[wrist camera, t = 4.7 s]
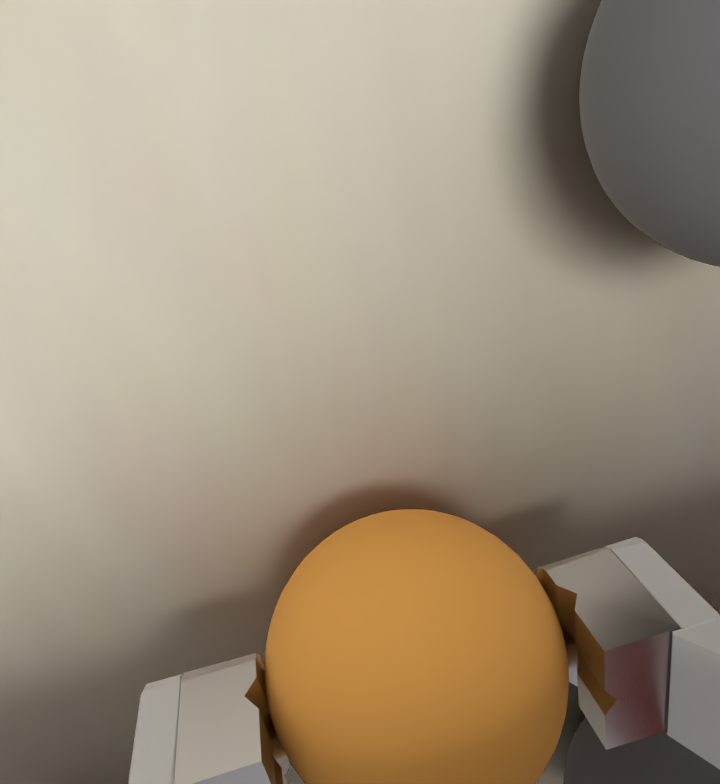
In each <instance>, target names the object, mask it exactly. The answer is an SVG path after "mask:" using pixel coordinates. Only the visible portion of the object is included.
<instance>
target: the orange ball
mask: <svg viewBox="0 0 720 784" xmlns="http://www.w3.org/2000/svg"><path fill="white" fill-rule="evenodd" d="M265 687H266V693H267V700H268V706H269V711H270V715H271V719H272V722H273V725H274V728H275V731H276V734H277V737H278V739H279V741H280V743H281V745H282V748H283V750H284V751H285V753H286V755H287V757H288V759H289V761H290V763H291V765H292V766H293V768H294V769H295V770H296V772H297V773H298V774H299V776H300V777H301V778H302V780H303V781H304V782H305V783H306V784H536V782H537V781H538V780H539V778H540V777H541V775H542V774H543V772H544V770H545V768H546V766H547V765H548V763H549V761H550V759H551V757H552V755H553V753H554V751H555V749H556V747H557V744H558V741H559V738H560V735H561V732H562V728H563V725H564V721H565V716H566V711H567V704H568V695H569V668H568V658H567V651H566V646H565V641H564V636H563V632H562V629H561V626H560V623H559V620H558V618H557V615H556V612H555V610H554V607H553V605H552V603H551V601H550V599H549V597H548V596H547V594H546V592H545V590H544V589H543V587H542V585H541V583H540V582H539V580H538V578H537V577H536V576H535V574H534V573H533V572H532V571H531V570H530V568H529V567H528V566H527V565H526V564H525V562H524V561H523V560H522V559H521V558H520V556H519V555H518V554H517V553H515V552H514V551H513V550H512V549H511V548H510V547H508V546H507V545H506V544H505V543H504V542H502V541H501V540H500V539H499V538H498V537H496V536H495V535H493V534H491V533H490V532H488V531H486V530H485V529H483V528H481V527H479V526H478V525H476V524H474V523H472V522H470V521H467V520H465V519H462V518H460V517H456V516H453V515H450V514H446V513H442V512H438V511H432V510H423V509H400V510H391V511H385V512H380V513H376V514H372V515H369V516H366V517H363V518H360V519H358V520H356V521H354V522H352V523H349V524H347V525H345V526H344V527H342V528H340V529H339V530H337V531H335V532H334V533H332V534H331V535H330V536H328V537H327V538H326V539H325V540H323V541H322V542H321V543H320V544H319V545H317V546H316V547H315V548H314V549H313V550H312V551H311V552H310V553H309V554H308V555H307V556H306V557H305V558H304V560H303V561H302V562H301V563H300V565H299V566H298V567H297V568H296V570H295V571H294V573H293V575H292V576H291V578H290V579H289V581H288V583H287V584H286V586H285V587H284V589H283V591H282V593H281V596H280V598H279V600H278V602H277V605H276V608H275V610H274V613H273V616H272V620H271V623H270V627H269V631H268V637H267V642H266V651H265Z"/></svg>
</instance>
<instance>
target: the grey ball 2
mask: <svg viewBox="0 0 720 784" xmlns="http://www.w3.org/2000/svg"><path fill="white" fill-rule="evenodd" d="M564 784H720V769H718V768H717V767H715V766H714V765H712V764H711V763H709V762H708V761H706V760H705V759H703V758H702V757H700V756H699V755H697V754H695V753H694V752H692V751H691V750H689V749H688V748H686V747H685V746H683V745H682V744H680V743H679V742H677V741H676V740H674V739H673V738H671V737H670V736H668V735H667V731H666V732H663V733H660V734H656V735H653V736H650V737H647V738H643V739H640V740H637V741H633V742H630V743H627V744H624V745H620V746H617V747H614V748H610V749H607V750H606V749H605V747H604V746H603V744H602V742H601V741H600V739H599V737H598V736H597V734H596V733H595V731H594V729H593V728H592V726H591V725H590V723H589V721H588V720H587V718H586V717H585V718H584V719H583V721H582V722H581V724H580V725H579V727H578V729H577V731H576V733H575V735H574V737H573V738H572V741H571V743H570V746H569V750H568V753H567V757H566V762H565V769H564Z"/></svg>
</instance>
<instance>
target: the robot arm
mask: <svg viewBox="0 0 720 784" xmlns="http://www.w3.org/2000/svg"><path fill="white" fill-rule="evenodd" d="M536 577H537V578H538V580H539V582H540V583H541V585H542V587H543V589H544V590H545V592H546V594H547V596H548V597H549V599H550V601H551V603H552V605H553V607H554V610H555V612H556V615H557V618H558V620H559V623H560V626H561V629H562V632H563V636H564V641H565V646H566V651H567V658H568V668H569V682H570V683H572V684H574V685H575V686H577V687H578V699H579V707H580V708H581V710H582V712H583V713H584V715H585V716H586V718H587V720H588V721H589V723H590V725H591V726H592V728H593V729H594V731H595V733H596V734H597V736H598V737H599V739H600V741H601V742H602V744H603V746H604V747H605V749H606V750H607V749H610V748H614V747H617V746H620V745H624V744H627V743H630V742H633V741H637V740H640V739H643V738H647V737H650V736H653V735H656V734H660V733H663V732H666V731H667V735H668V736H670V737H671V738H673V739H674V740H676V741H677V742H679V743H680V744H682V745H683V746H685V747H686V748H688V749H689V750H691V751H692V752H694V753H695V754H697V755H699V756H700V757H702V758H703V759H705V760H706V761H708V762H709V763H711V764H712V765H714V766H715V767H717V768H718V769H720V614H719V613H718V612H717V611H716V610H715V609H714V608H713V607H712V606H711V605H710V604H709V603H708V602H707V601H706V600H704V599H703V598H702V597H701V596H700V595H699V594H698V593H697V592H696V591H695V590H694V589H693V588H692V587H691V586H690V585H689V584H688V583H687V582H686V581H685V580H684V579H683V578H682V577H681V576H680V575H679V574H678V573H677V572H676V571H675V570H674V569H673V568H672V567H671V566H670V565H669V564H668V563H667V562H666V561H665V560H664V559H663V558H662V557H661V556H660V555H659V554H658V553H657V552H656V551H655V550H654V549H653V548H651V547H650V546H649V545H648V544H647V543H646V542H645V541H644V540H643V539H640V538H638V537H633V538H630V539H627V540H624V541H620V542H617V543H614V544H611V545H608V546H604V547H603V548H598V549H595V550H591V551H588V552H585V553H582V554H579V555H575V556H572V557H569V558H566V559H563V560H560V561H556V562H553V563H550V564H547V565H544V566H540V567H538V568H537V572H536ZM289 767H290V764H289V759H288V757H287V755H286V753H285V751H284V750H283V748H282V745H281V743H280V741H279V739H278V737H277V734H276V731H275V728H274V725H273V722H272V719H271V715H270V711H269V706H268V700H267V693H266V687H265V667H264V664H263V662H262V659H261V657H260V654H258V653H254V654H250V655H246V656H243V657H239V658H235V659H232V660H228V661H224V662H221V663H217V664H213V665H210V666H206V667H203V668H199V669H195V670H192V671H188V672H184V674H180V675H176V676H173V677H169V678H165V679H162V680H158V681H154V682H151V683H147V684H146V685H145V687H144V689H143V692H142V694H141V696H140V703H139V710H138V717H137V724H136V731H135V739H134V746H133V753H132V760H131V767H130V774H129V781H128V784H287V781H286V778H285V775H286V773H287V771H288V769H289Z"/></svg>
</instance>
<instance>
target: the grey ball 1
mask: <svg viewBox="0 0 720 784" xmlns="http://www.w3.org/2000/svg"><path fill="white" fill-rule="evenodd" d="M579 108H580V120H581V128H582V133H583V138H584V143H585V147H586V150H587V153H588V156H589V159H590V161H591V164H592V167H593V170H594V172H595V174H596V176H597V178H598V180H599V182H600V184H601V186H602V188H603V190H604V191H605V193H606V194H607V195H608V197H609V198H610V200H611V201H612V202H613V204H614V205H615V206H616V207H617V209H618V210H619V211H620V212H621V213H622V214H623V215H624V217H625V218H626V219H627V220H628V221H629V222H630V223H631V224H632V225H633V226H634V227H636V228H637V229H639V230H640V231H641V232H643V233H644V234H646V235H647V236H648V237H650V238H651V239H653V240H654V241H655V242H657V243H658V244H660V245H661V246H663V247H665V248H668V249H670V250H672V251H674V252H676V253H678V254H680V255H683V256H685V257H688V258H690V259H692V260H696V261H699V262H703V263H706V264H710V265H714V266H719V267H720V0H601V3H600V5H599V7H598V10H597V12H596V15H595V18H594V21H593V24H592V27H591V29H590V32H589V36H588V40H587V44H586V48H585V52H584V56H583V62H582V69H581V77H580V93H579Z"/></svg>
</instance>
